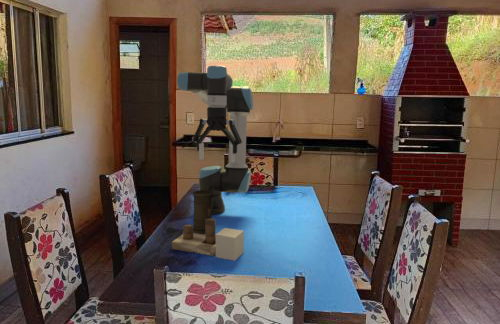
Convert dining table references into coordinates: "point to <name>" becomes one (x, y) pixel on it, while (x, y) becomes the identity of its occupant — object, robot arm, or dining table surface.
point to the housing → (229, 244)
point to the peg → (210, 231)
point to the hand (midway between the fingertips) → (216, 160)
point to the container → (201, 210)
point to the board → (193, 242)
